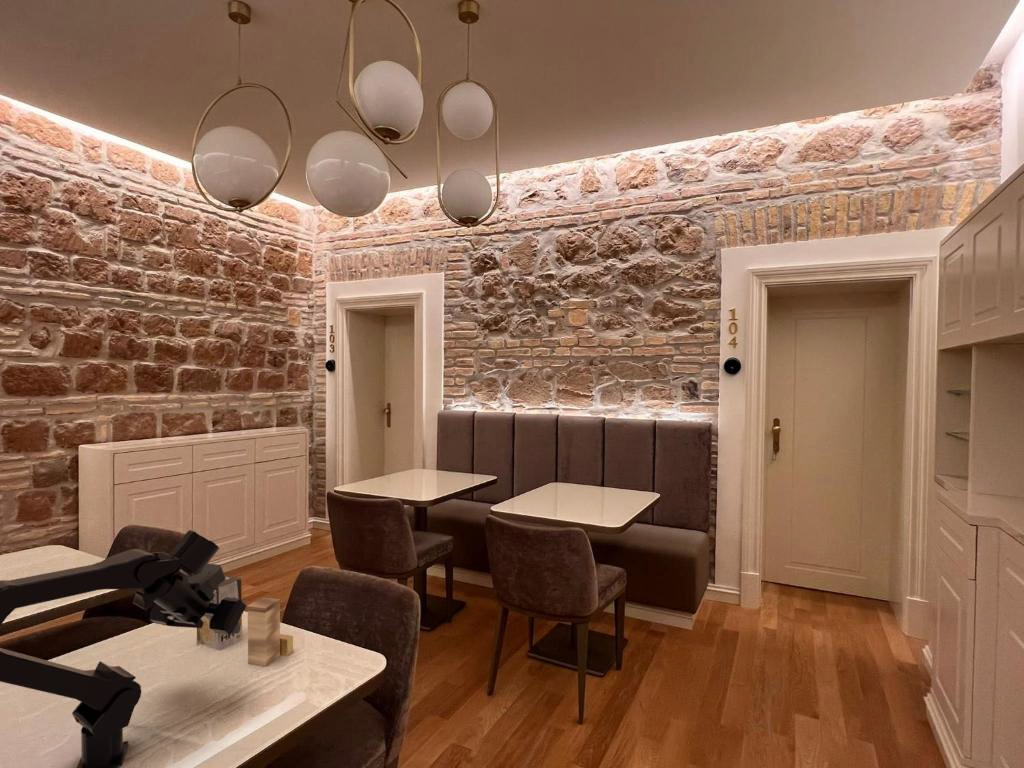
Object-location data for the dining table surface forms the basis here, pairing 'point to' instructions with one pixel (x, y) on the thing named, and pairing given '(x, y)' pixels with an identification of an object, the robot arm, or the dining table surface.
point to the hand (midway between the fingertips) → (220, 628)
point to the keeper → (263, 631)
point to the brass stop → (286, 644)
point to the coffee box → (205, 634)
